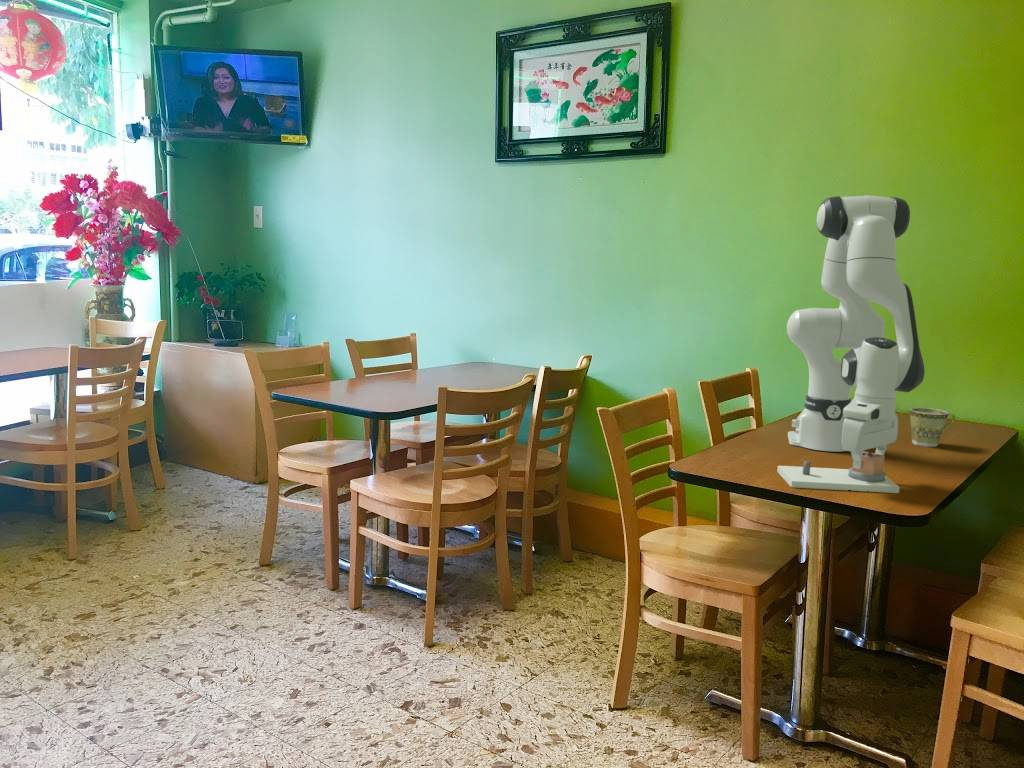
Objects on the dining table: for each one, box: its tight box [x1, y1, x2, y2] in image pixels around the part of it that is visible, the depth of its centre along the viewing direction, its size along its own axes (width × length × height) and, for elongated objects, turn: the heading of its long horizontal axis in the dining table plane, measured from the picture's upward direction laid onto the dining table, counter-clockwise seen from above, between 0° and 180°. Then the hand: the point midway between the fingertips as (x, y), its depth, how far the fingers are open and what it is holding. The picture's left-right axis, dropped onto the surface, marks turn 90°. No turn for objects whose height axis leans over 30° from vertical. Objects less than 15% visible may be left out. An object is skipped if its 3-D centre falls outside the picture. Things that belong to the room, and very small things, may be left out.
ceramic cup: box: [909, 407, 956, 448], centre depth 236 cm, size 13×10×10 cm
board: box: [776, 451, 901, 494], centre depth 193 cm, size 14×24×8 cm, turn 85°
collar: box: [852, 450, 886, 475], centre depth 192 cm, size 5×5×4 cm
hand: (867, 465), depth 192 cm, fingers open, 8 cm apart
